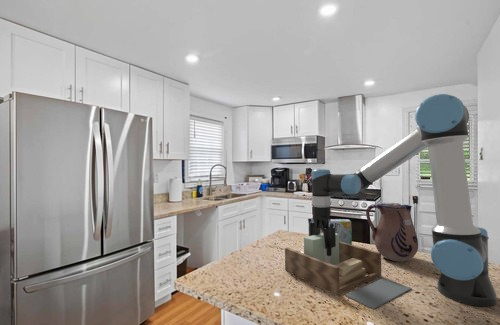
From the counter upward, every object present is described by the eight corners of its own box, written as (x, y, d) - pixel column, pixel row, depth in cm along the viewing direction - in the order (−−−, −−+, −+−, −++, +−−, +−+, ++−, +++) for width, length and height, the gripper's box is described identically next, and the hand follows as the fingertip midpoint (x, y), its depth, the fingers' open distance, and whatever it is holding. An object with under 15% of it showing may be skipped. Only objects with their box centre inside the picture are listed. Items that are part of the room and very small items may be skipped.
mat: (411, 289, 91) (411, 288, 91) (373, 309, 79) (373, 308, 79) (383, 279, 100) (383, 277, 100) (345, 296, 87) (345, 294, 87)
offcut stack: (365, 276, 102) (365, 261, 102) (339, 287, 93) (338, 270, 93) (354, 272, 106) (354, 257, 106) (328, 282, 97) (327, 266, 98)
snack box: (349, 247, 138) (348, 219, 139) (352, 251, 133) (351, 221, 133) (308, 246, 140) (308, 218, 141) (309, 250, 135) (309, 220, 135)
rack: (381, 275, 102) (381, 252, 103) (336, 295, 88) (336, 268, 88) (328, 256, 124) (328, 237, 124) (285, 269, 109) (285, 248, 110)
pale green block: (339, 266, 112) (338, 234, 113) (313, 275, 104) (312, 240, 104) (330, 263, 117) (329, 231, 117) (304, 271, 108) (303, 237, 108)
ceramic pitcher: (426, 266, 111) (425, 207, 112) (373, 264, 115) (372, 207, 115) (408, 253, 129) (407, 202, 129) (362, 251, 132) (362, 201, 132)
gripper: (345, 207, 105) (345, 265, 105) (311, 202, 120) (312, 253, 120) (332, 209, 101) (333, 270, 101) (299, 204, 116) (300, 256, 116)
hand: (322, 261), depth 110 cm, fingers closed on pale green block, 5 cm apart
